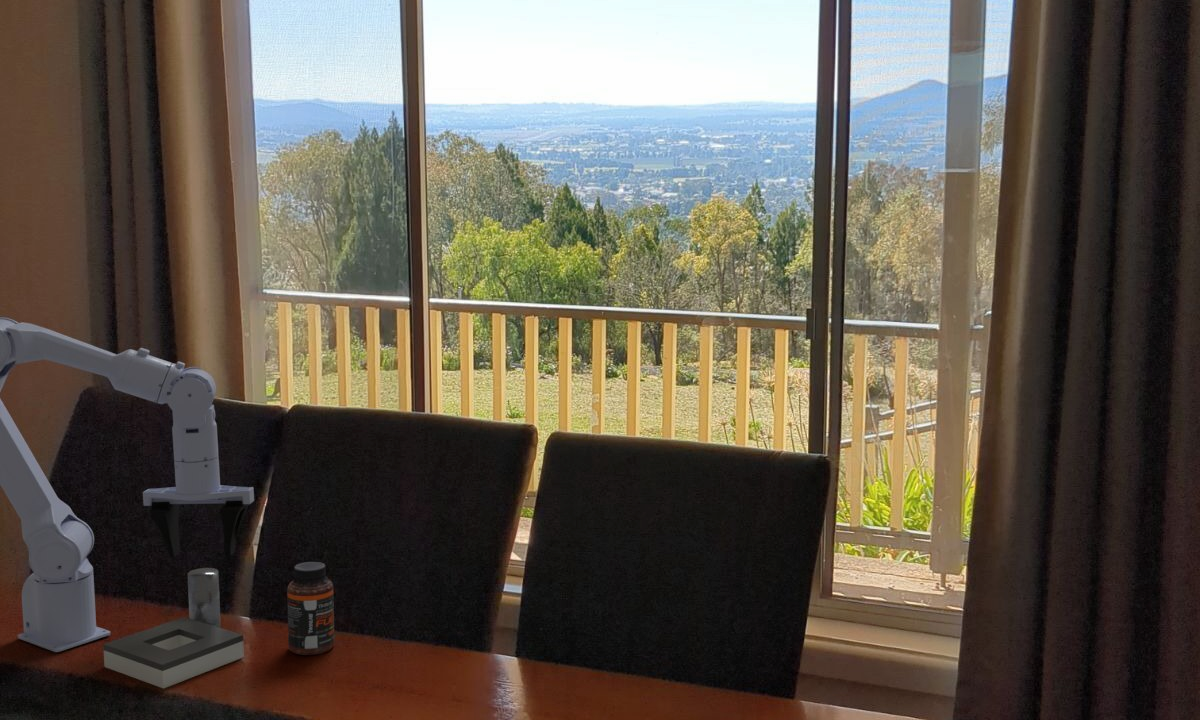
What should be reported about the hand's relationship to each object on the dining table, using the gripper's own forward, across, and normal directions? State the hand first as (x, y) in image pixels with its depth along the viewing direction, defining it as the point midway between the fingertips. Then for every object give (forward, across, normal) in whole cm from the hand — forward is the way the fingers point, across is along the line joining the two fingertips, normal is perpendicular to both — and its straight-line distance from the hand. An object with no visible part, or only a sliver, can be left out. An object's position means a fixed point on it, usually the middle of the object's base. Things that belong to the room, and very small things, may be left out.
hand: (202, 554), depth 158 cm
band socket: (+10, 0, +12) cm, 16 cm away
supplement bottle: (+11, -16, +7) cm, 21 cm away
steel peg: (+10, 0, 0) cm, 11 cm away
